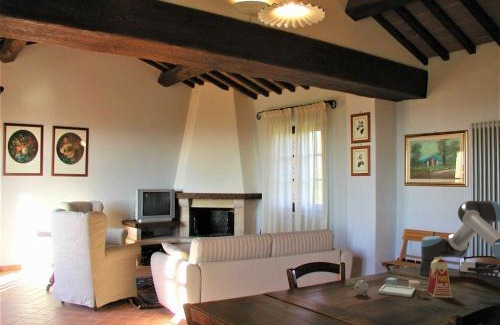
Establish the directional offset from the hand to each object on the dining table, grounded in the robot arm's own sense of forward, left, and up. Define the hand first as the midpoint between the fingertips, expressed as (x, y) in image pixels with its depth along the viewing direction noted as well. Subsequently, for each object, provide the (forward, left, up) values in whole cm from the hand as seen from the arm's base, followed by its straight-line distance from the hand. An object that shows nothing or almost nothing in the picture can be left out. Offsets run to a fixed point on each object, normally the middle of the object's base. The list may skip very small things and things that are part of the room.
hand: (460, 266), depth 226 cm
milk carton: (0, -10, -16) cm, 19 cm away
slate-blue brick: (-9, -35, -16) cm, 39 cm away
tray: (+4, -30, -16) cm, 34 cm away
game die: (+20, -45, -16) cm, 52 cm away
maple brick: (-8, -23, -16) cm, 29 cm away
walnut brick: (+9, -17, -16) cm, 25 cm away
